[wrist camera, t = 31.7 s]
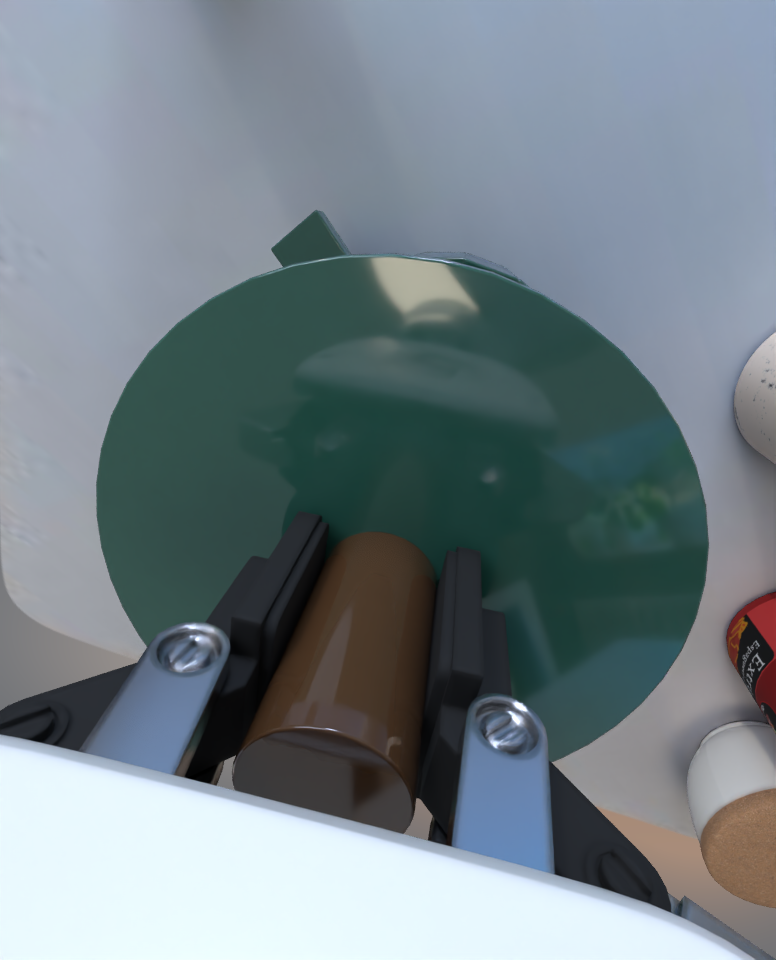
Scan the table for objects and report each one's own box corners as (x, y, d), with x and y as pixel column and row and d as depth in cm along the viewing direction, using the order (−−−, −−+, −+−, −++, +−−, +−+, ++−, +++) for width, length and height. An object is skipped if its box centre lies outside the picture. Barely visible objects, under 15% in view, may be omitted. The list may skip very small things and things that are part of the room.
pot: (450, 145, 26) (439, 97, 17) (623, 446, 31) (684, 529, 22) (254, 306, 31) (166, 333, 22) (432, 546, 36) (418, 647, 27)
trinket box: (743, 817, 42) (810, 961, 34) (634, 755, 41) (676, 888, 33) (861, 744, 38) (973, 890, 29) (742, 673, 37) (823, 802, 28)
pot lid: (482, 77, 9) (500, -211, 3) (786, 644, 13) (1050, 982, 7) (19, 471, 14) (-305, 636, 8) (336, 800, 18) (270, 1076, 12)
